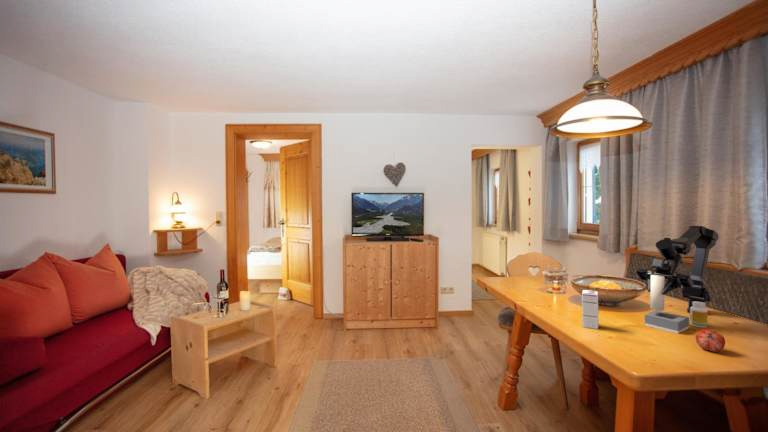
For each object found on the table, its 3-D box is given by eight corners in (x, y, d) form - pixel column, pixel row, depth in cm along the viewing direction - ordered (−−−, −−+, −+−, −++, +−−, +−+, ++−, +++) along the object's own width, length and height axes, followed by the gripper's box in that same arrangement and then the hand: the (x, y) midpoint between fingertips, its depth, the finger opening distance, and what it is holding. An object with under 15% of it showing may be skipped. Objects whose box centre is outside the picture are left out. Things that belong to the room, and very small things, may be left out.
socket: (655, 320, 147) (656, 310, 146) (688, 328, 137) (688, 317, 137) (644, 325, 141) (644, 314, 141) (678, 333, 131) (678, 322, 131)
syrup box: (598, 329, 137) (598, 294, 136) (581, 326, 140) (582, 292, 139) (598, 325, 141) (598, 291, 141) (582, 322, 145) (582, 289, 144)
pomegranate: (695, 350, 122) (688, 338, 117) (703, 332, 123) (696, 320, 118) (723, 360, 115) (717, 348, 111) (731, 342, 117) (725, 329, 112)
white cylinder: (648, 306, 145) (649, 274, 145) (662, 307, 143) (662, 275, 143) (652, 309, 141) (652, 276, 140) (665, 311, 139) (666, 277, 138)
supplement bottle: (710, 328, 137) (711, 304, 137) (695, 327, 138) (695, 304, 138) (701, 323, 142) (701, 300, 142) (686, 322, 143) (686, 300, 143)
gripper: (638, 249, 151) (623, 276, 147) (690, 255, 135) (675, 285, 130) (647, 265, 155) (633, 292, 150) (699, 272, 138) (685, 302, 134)
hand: (655, 292), depth 141 cm, fingers closed on white cylinder, 5 cm apart
